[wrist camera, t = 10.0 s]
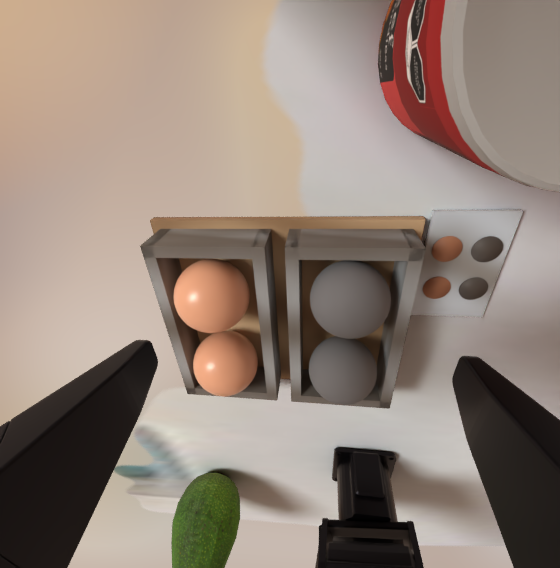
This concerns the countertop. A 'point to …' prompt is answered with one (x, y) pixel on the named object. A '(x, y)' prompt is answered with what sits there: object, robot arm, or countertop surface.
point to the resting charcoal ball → (342, 370)
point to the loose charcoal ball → (350, 299)
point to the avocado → (205, 523)
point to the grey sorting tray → (307, 266)
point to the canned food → (479, 81)
